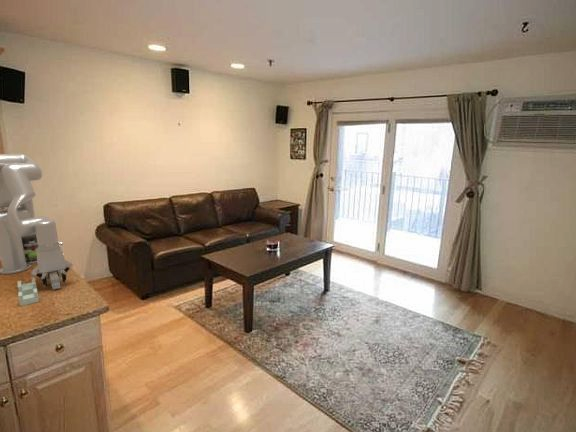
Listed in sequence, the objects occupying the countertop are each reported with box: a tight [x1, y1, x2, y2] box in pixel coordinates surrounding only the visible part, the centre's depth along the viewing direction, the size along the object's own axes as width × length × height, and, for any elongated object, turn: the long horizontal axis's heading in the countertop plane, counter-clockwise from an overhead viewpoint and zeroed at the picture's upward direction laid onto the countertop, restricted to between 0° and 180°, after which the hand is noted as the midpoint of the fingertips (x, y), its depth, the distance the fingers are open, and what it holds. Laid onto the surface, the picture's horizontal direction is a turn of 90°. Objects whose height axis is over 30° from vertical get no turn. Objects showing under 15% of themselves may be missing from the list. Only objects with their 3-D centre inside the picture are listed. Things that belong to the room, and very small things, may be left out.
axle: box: [48, 271, 61, 290], centre depth 153 cm, size 16×3×3 cm, turn 40°
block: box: [45, 270, 63, 285], centre depth 158 cm, size 10×6×8 cm, turn 40°
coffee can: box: [21, 234, 39, 264], centre depth 179 cm, size 10×10×14 cm
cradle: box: [16, 277, 40, 307], centre depth 142 cm, size 18×6×4 cm, turn 40°
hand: (55, 283), depth 151 cm, fingers open, 6 cm apart
